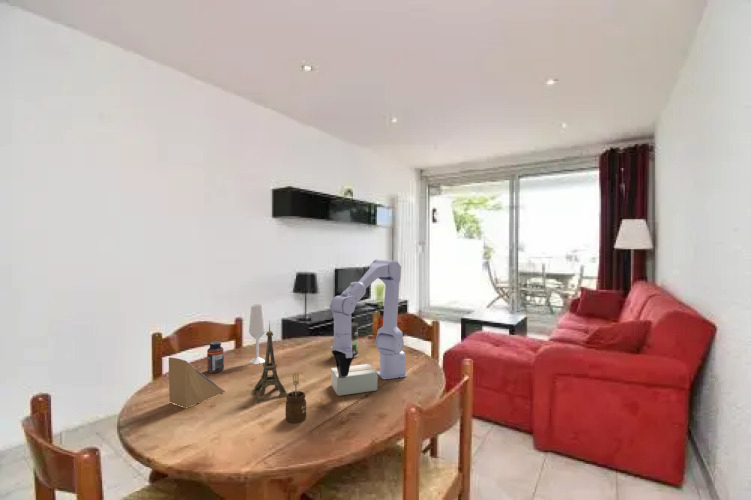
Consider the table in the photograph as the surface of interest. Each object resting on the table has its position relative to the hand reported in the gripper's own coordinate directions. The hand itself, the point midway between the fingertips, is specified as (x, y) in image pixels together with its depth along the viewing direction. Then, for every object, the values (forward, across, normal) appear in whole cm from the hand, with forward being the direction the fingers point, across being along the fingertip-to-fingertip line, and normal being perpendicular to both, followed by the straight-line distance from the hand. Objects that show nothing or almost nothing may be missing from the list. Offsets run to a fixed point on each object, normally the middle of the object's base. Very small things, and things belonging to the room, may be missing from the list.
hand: (342, 373), depth 126 cm
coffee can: (+8, -42, +15) cm, 46 cm away
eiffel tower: (+8, -11, -22) cm, 26 cm away
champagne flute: (+8, -48, -23) cm, 54 cm away
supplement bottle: (+8, -42, -39) cm, 58 cm away
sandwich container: (+8, -17, -44) cm, 48 cm away
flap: (+7, 0, +5) cm, 9 cm away
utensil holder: (+8, +10, -17) cm, 21 cm away
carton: (+7, -6, +6) cm, 11 cm away
